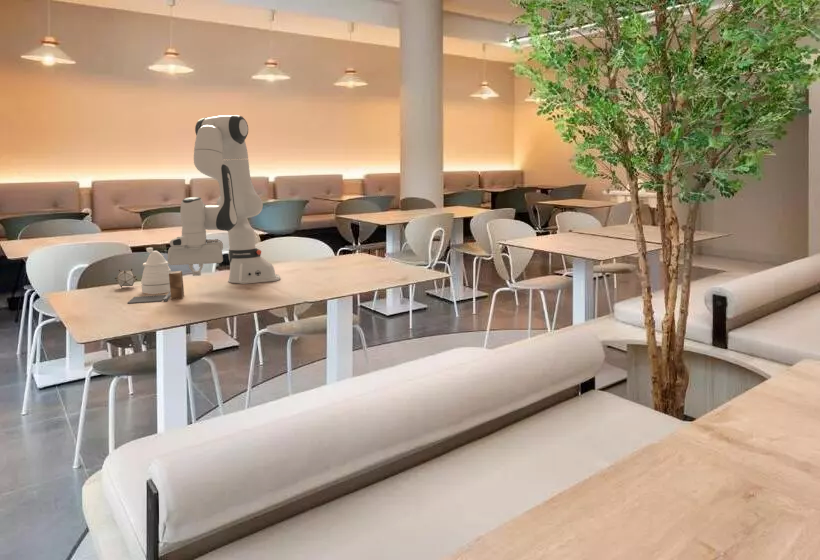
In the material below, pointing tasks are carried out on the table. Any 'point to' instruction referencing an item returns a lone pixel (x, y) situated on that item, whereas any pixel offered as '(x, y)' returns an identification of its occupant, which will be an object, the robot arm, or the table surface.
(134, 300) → the mat
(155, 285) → the honey pot
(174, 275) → the walnut block
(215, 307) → the table surface
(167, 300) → the rail
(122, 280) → the twenty-sided die
